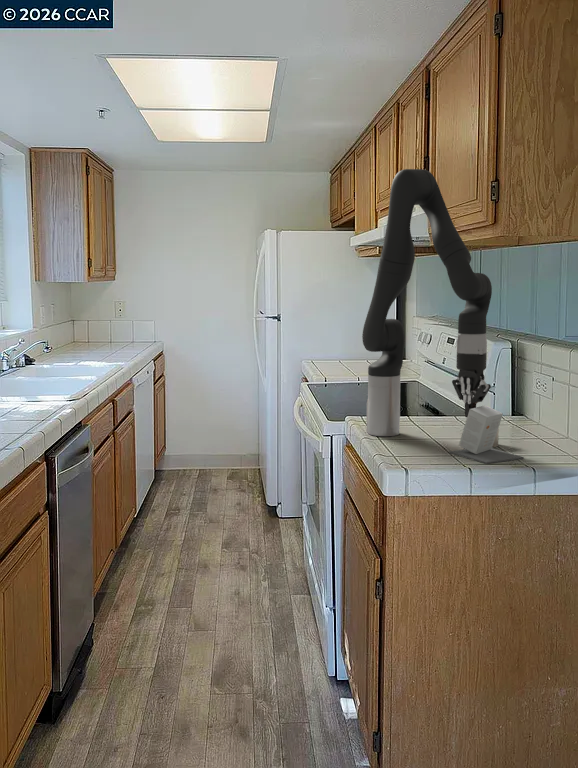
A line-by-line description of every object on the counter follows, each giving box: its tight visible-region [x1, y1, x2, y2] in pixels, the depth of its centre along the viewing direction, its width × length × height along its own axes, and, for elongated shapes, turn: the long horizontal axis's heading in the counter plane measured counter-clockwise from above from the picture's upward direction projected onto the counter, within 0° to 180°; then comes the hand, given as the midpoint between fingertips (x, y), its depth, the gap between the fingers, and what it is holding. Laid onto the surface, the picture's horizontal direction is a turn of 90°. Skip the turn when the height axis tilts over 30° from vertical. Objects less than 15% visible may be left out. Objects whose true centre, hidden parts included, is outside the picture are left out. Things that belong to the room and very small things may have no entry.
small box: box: [458, 404, 504, 454], centre depth 199 cm, size 8×6×10 cm
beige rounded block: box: [492, 427, 500, 448], centre depth 210 cm, size 6×6×7 cm
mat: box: [449, 447, 524, 465], centre depth 197 cm, size 14×12×1 cm
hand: (470, 417), depth 202 cm, fingers closed
